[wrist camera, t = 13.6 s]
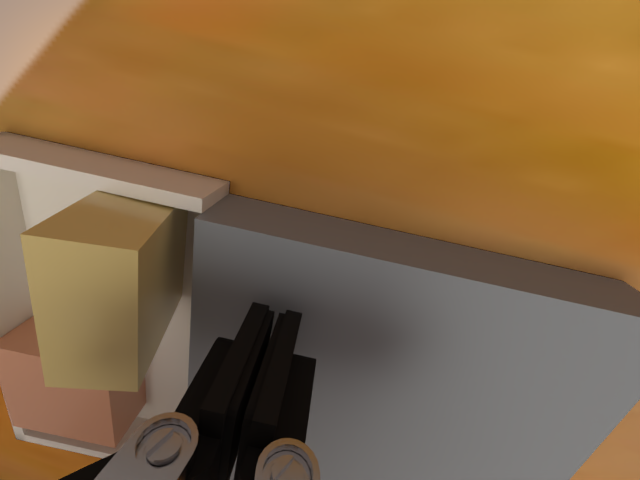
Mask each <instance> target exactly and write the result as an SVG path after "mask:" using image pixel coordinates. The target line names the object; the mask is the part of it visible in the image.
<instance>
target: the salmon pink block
mask: <svg viewBox="0 0 640 480" xmlns="http://www.w3.org/2000/svg"><path fill="white" fill-rule="evenodd" d="M0 386H1V389H2V392H3V396H4V399H5V402H6V405H7V409H8V412H9V415H10V418H11V422H12V425H13V426H16V427H20V428H25V429H30V430H34V431H39V432H43V433H48V434H53V435H57V436H62V437H66V438H71V439H76V440H80V441H85V442H89V443H94V444H99V445H103V446H108V447H112V448H116V446H117V445H118V443H119V442H120V440H121V439H122V437H123V436H124V435H125V433H126V432H127V430H128V429H129V427H130V426H131V424H132V423H133V421H134V420H135V419H136V417H137V416H138V414H139V413H140V411H141V410H142V408H143V407H144V405H145V404H146V384H145V378H144V380H143V382H142V384H141V386H140V389H139V391H138V392H127V391H109V390H92V389H74V388H57V387H45V382H44V376H43V370H42V364H41V358H40V352H39V346H38V340H37V334H36V328H35V322H34V316H32V317H31V318H29V319H28V320H26V321H25V322H23V323H22V324H20V325H19V326H17V327H16V328H14V329H13V330H11V331H10V332H8V333H7V334H5V335H4V336H2V337H1V338H0Z"/></svg>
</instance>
